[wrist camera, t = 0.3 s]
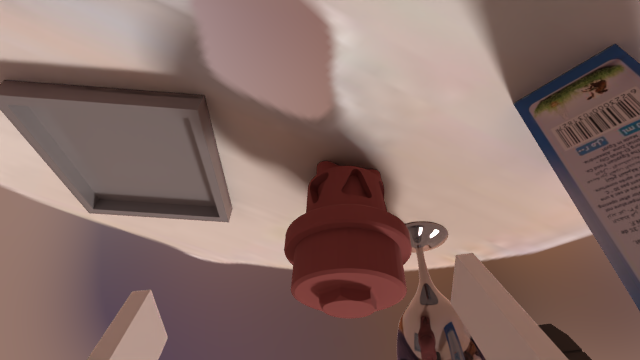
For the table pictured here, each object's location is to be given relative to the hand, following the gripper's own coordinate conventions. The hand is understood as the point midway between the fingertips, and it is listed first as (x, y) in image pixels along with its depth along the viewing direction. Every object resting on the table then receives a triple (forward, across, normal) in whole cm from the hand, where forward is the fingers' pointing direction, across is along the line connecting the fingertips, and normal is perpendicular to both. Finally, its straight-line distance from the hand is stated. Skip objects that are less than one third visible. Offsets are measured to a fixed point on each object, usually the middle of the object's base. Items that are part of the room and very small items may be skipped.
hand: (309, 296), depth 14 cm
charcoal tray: (+18, -14, +2) cm, 23 cm away
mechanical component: (+17, +4, -2) cm, 18 cm away
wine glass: (+21, +13, -12) cm, 27 cm away
